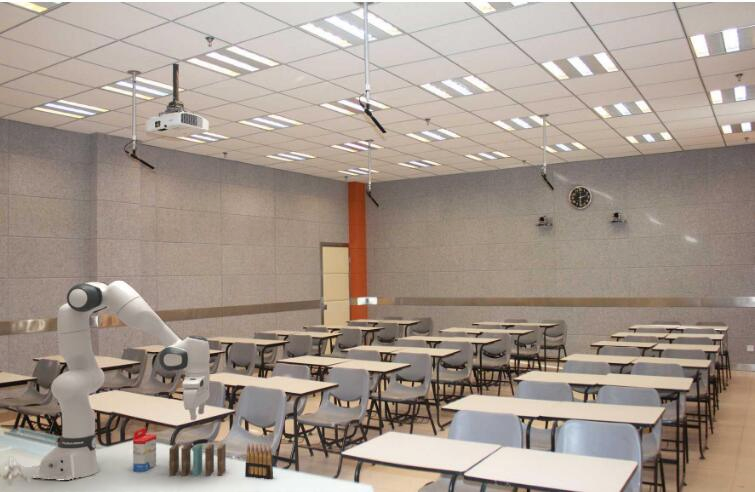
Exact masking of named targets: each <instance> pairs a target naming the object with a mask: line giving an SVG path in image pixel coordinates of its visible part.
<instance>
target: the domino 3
mask: <svg viewBox="0 0 755 492" xmlns="http://www.w3.org/2000/svg"><path fill="white" fill-rule="evenodd" d="M192 450H193V451H192V452H193V454H192V456H193V459H192V460H193V462H192V464H193V465H192V476H193V477H199V475H200V474H201V473H202V472H203V444H202V443H197V444H196V446H195V447H193V448H192Z"/></svg>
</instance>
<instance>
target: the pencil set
mask: <svg viewBox="0 0 755 492" xmlns="http://www.w3.org/2000/svg"><path fill="white" fill-rule="evenodd" d="M272 457H273V455H272V448H271V445H270V444H269V445H268V448H267V445H266V444H265V445H264V446H263V445H262V444H260V446H259V445H258V443H256V444H255V445H254V443H251V445H250V443H249V442H248V443H247V445H246V457H245V461H246V462H245V470H244V476H245V477H246V478H253V479H254V477H255V479H261V478H264V479H263V480H269V479H271V480H272V479H274V470H273V469H274V465H273V458H272Z"/></svg>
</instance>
